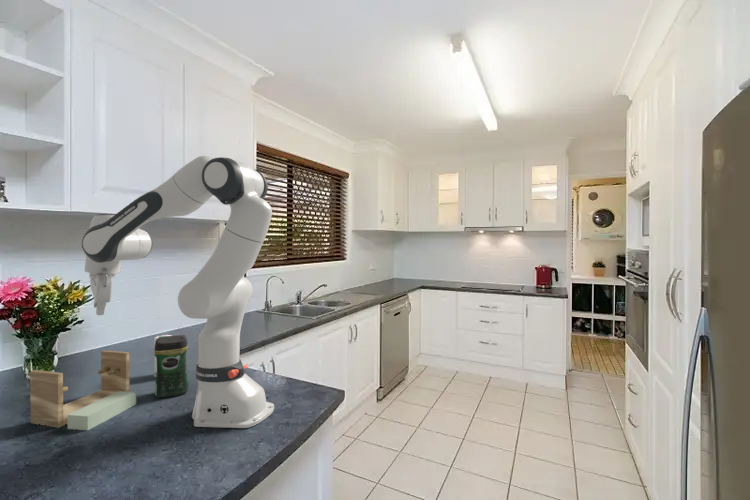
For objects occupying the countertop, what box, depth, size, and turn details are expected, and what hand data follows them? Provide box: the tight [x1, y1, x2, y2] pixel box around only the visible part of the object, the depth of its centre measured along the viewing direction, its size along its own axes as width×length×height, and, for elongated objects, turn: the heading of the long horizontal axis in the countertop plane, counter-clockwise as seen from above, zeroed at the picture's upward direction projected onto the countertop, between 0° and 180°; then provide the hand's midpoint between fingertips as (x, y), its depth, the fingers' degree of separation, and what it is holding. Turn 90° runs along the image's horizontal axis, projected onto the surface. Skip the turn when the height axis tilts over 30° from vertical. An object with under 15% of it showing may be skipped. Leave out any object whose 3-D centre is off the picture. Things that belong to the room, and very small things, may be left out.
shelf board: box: [67, 391, 137, 431], centre depth 104 cm, size 16×6×4 cm, turn 172°
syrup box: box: [153, 334, 173, 378], centre depth 136 cm, size 6×6×14 cm
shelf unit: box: [29, 349, 131, 428], centre depth 108 cm, size 21×10×14 cm, turn 165°
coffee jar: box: [153, 334, 190, 398], centre depth 120 cm, size 10×8×19 cm
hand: (98, 310), depth 113 cm, fingers open, 8 cm apart
